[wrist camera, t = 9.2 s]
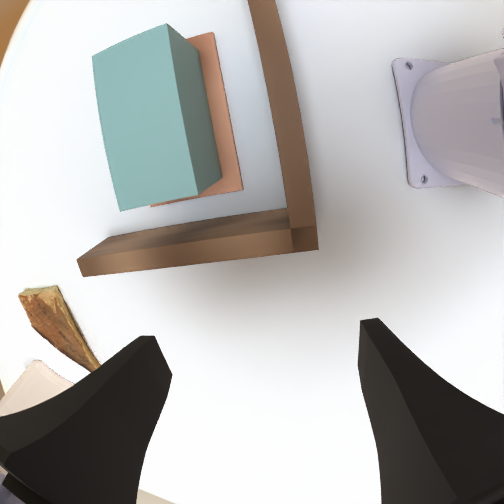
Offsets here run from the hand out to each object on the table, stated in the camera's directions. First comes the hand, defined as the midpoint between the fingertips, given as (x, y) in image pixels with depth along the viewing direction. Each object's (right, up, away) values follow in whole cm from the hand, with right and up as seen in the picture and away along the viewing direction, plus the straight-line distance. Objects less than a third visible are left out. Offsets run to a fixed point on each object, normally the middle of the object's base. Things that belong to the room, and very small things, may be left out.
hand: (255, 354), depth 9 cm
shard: (-19, -3, +15) cm, 24 cm away
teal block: (-4, +11, +6) cm, 13 cm away
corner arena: (-4, +11, +6) cm, 14 cm away
